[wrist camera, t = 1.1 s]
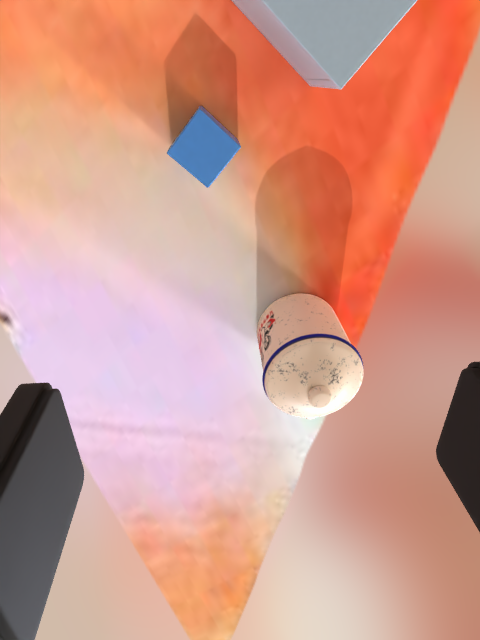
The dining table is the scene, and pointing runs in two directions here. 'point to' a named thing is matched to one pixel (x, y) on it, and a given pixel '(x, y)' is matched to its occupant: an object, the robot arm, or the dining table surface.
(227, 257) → the dining table surface
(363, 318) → the dining table surface
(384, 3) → the grey drawer cabinet
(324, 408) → the teacup with lid
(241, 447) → the dining table surface
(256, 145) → the dining table surface
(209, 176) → the blue wooden cube
